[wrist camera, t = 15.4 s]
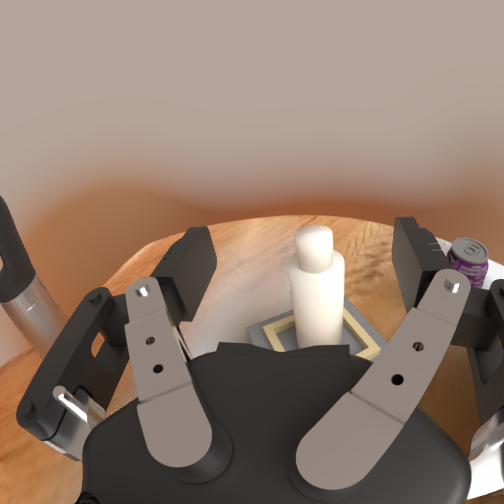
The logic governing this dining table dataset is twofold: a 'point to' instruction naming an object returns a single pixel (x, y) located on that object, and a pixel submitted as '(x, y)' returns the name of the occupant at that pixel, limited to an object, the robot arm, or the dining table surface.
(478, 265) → the beverage can
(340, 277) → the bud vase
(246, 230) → the dining table surface
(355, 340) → the display riser
